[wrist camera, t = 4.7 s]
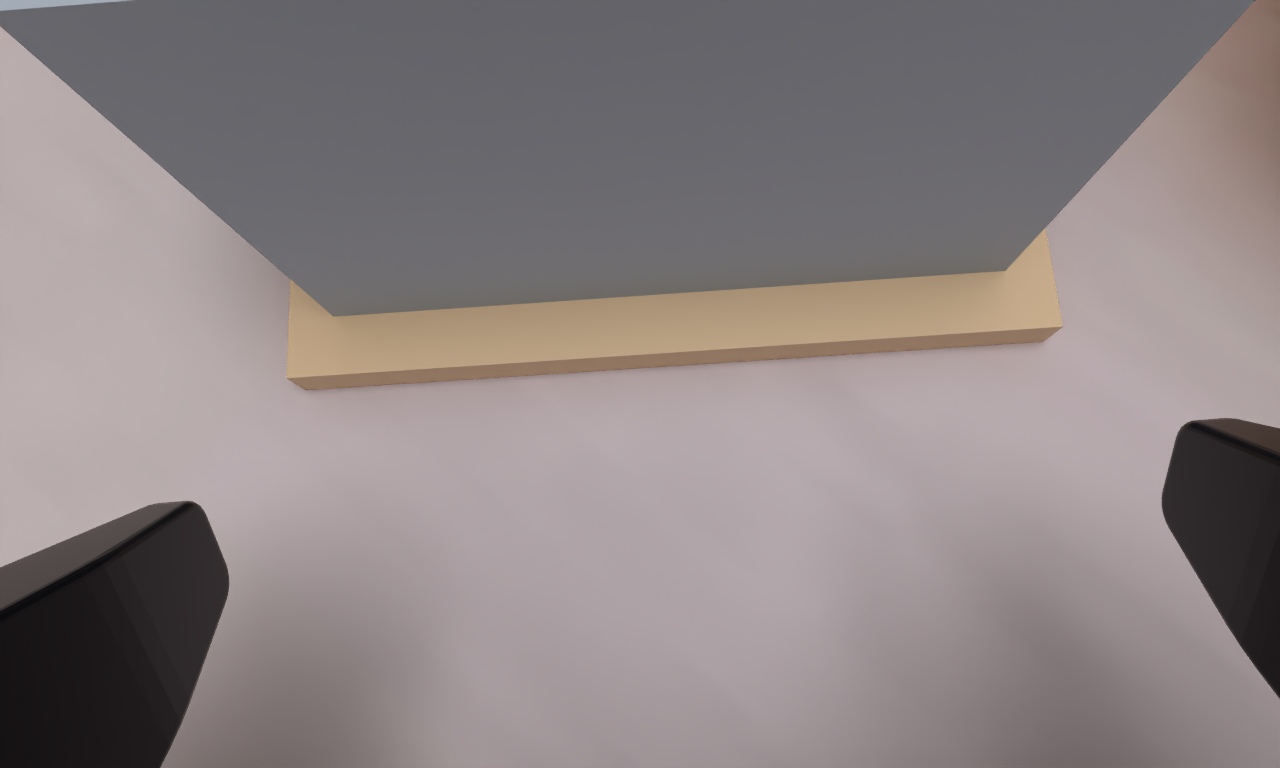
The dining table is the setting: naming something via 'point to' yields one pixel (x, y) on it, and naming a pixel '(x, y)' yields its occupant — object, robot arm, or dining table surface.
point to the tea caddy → (631, 164)
